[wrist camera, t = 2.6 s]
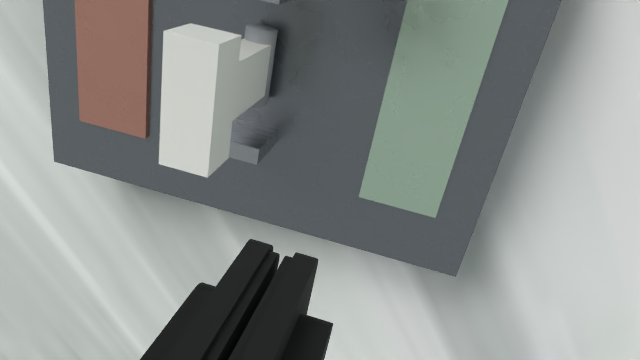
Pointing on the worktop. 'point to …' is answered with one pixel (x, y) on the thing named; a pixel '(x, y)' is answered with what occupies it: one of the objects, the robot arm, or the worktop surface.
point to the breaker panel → (314, 111)
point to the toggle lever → (210, 91)
